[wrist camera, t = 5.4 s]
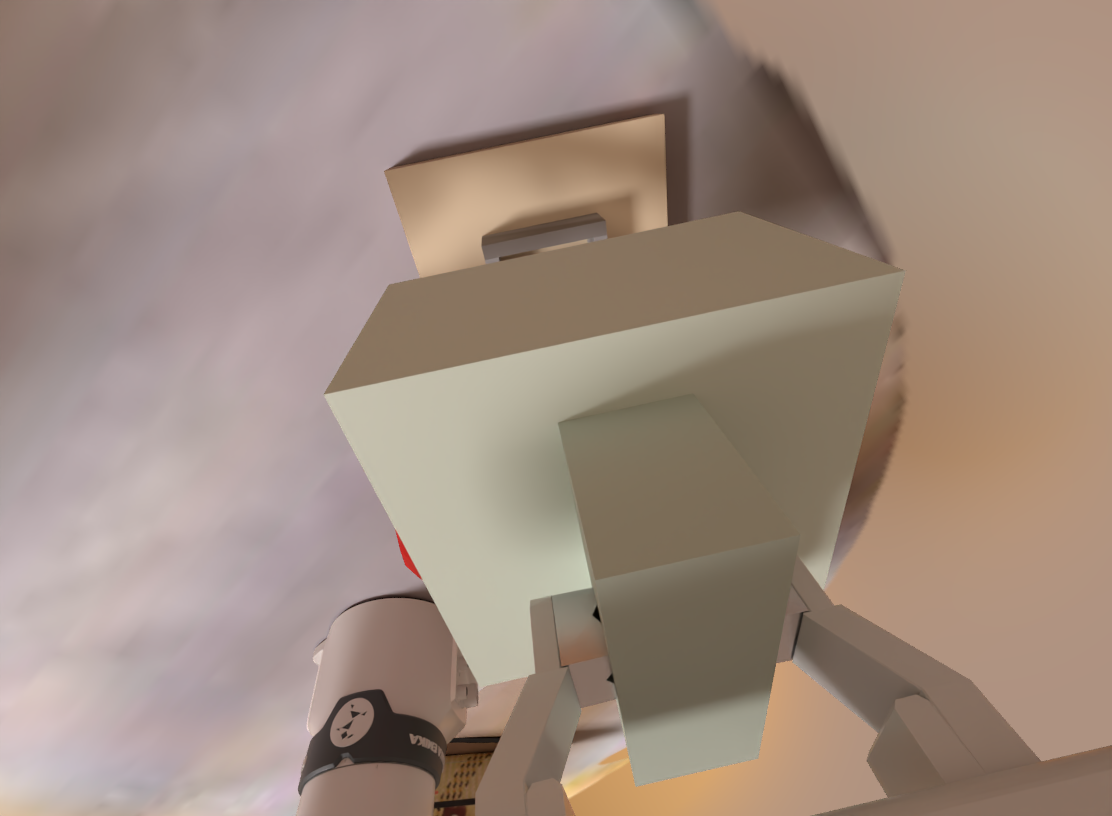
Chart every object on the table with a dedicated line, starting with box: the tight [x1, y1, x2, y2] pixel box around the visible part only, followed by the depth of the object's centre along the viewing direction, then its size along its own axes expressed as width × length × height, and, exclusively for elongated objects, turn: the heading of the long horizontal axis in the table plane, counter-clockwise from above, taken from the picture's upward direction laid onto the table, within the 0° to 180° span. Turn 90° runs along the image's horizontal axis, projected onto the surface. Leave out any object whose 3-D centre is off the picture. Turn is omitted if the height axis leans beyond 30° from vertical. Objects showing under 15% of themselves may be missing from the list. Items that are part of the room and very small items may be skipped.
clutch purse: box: [433, 738, 500, 816], centre depth 63 cm, size 30×7×15 cm, turn 81°
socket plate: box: [384, 114, 668, 278], centre depth 30 cm, size 16×16×4 cm
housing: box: [324, 211, 905, 787], centre depth 13 cm, size 12×12×11 cm
